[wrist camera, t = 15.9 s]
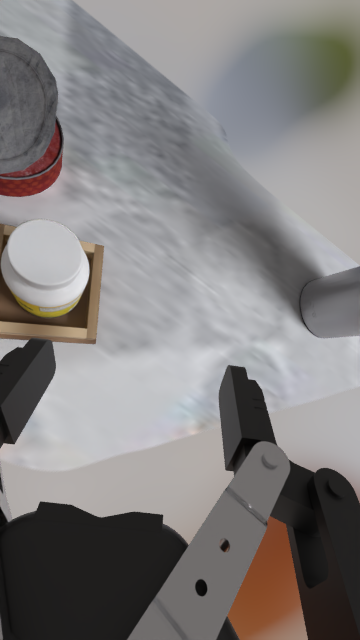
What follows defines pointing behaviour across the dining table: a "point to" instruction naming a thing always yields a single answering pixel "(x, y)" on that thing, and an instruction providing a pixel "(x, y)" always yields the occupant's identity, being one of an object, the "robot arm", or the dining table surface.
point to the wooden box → (74, 327)
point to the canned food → (27, 121)
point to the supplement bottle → (45, 268)
